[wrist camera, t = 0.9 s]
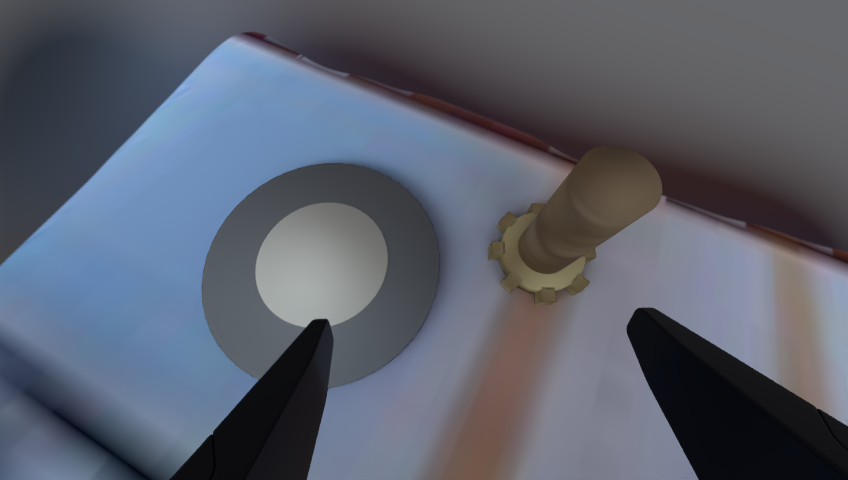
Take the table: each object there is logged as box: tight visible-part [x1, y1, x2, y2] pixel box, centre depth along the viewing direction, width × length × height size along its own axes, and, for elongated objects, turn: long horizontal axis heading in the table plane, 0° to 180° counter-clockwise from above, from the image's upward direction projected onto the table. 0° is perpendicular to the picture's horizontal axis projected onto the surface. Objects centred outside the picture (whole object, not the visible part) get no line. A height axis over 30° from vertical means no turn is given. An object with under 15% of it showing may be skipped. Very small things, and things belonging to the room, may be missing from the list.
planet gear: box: [488, 145, 662, 305], centre depth 20 cm, size 8×8×12 cm
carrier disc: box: [202, 163, 440, 388], centre depth 25 cm, size 18×18×1 cm
